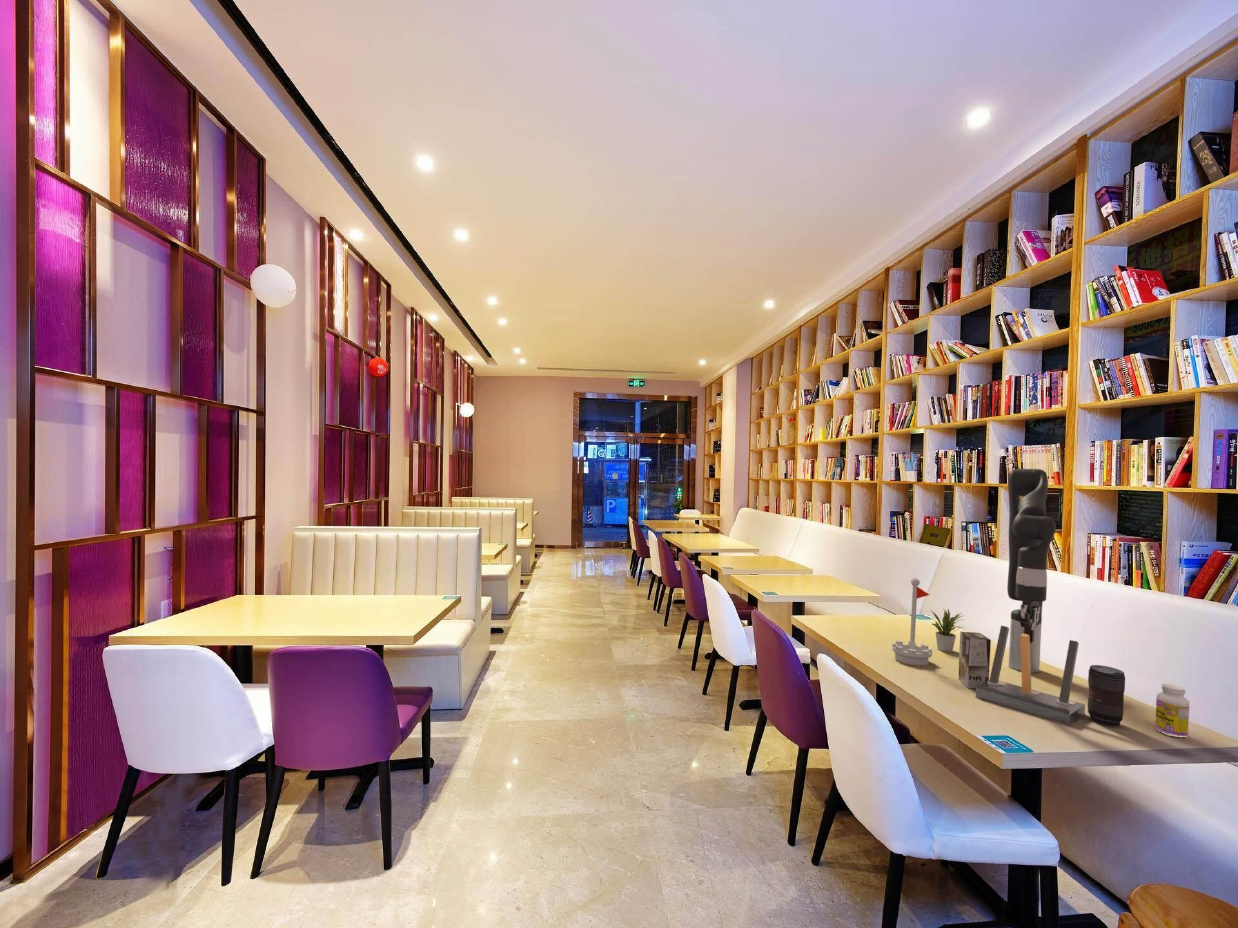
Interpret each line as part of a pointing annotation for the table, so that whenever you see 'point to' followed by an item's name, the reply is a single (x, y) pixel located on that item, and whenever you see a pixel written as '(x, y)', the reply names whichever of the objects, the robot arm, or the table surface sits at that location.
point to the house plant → (946, 632)
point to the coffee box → (974, 659)
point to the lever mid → (1025, 665)
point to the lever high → (1068, 674)
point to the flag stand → (913, 636)
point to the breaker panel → (1031, 702)
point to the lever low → (998, 657)
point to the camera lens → (1106, 695)
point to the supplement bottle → (1172, 711)
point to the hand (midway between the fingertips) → (1028, 641)
